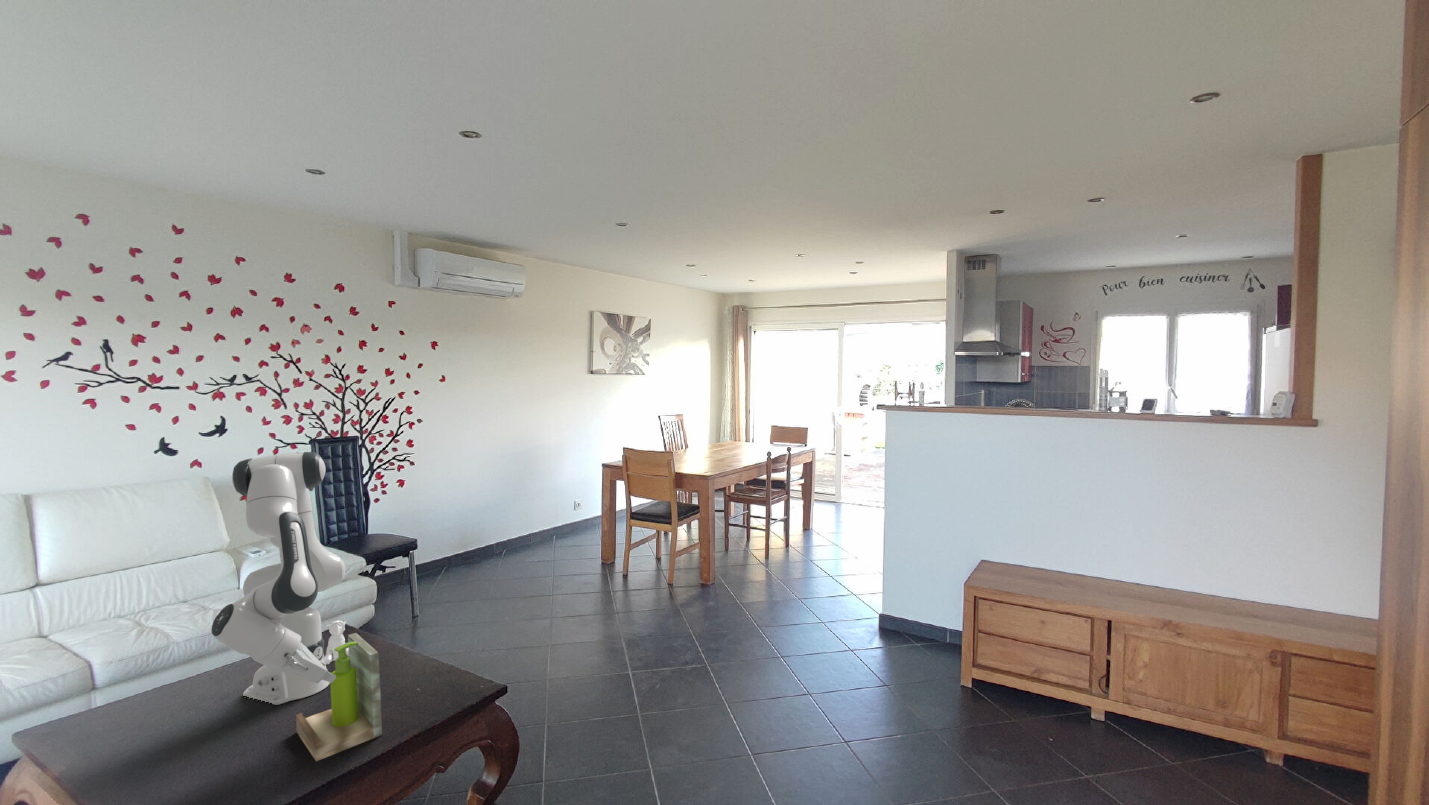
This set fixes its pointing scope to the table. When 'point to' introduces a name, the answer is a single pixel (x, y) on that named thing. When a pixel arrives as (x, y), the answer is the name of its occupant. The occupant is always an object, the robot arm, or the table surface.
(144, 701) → the table surface
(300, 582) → the robot arm
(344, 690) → the soap dispenser
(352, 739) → the wall board
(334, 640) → the white creature statuette
